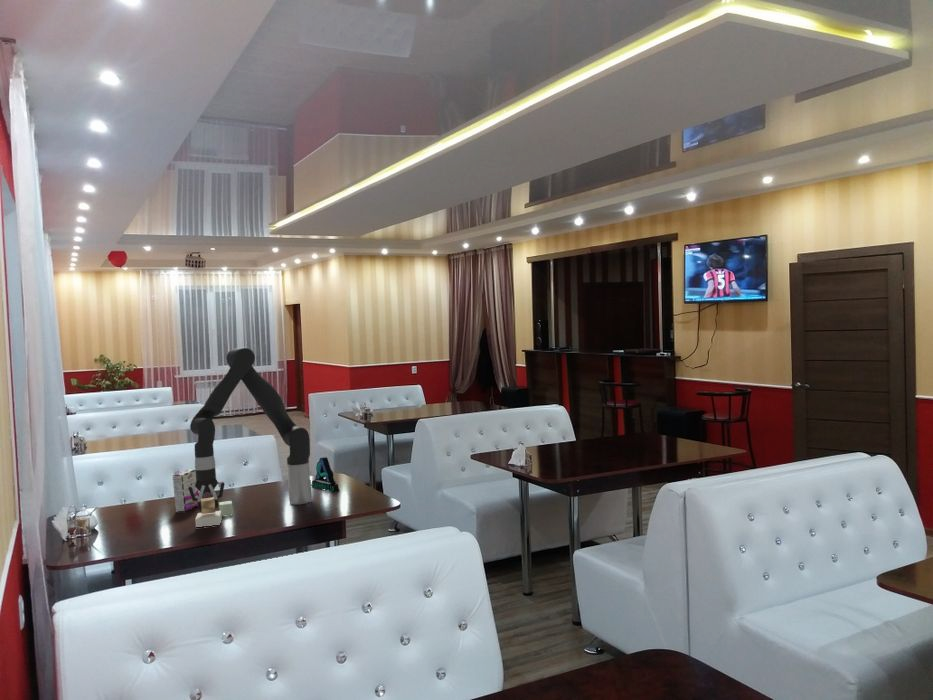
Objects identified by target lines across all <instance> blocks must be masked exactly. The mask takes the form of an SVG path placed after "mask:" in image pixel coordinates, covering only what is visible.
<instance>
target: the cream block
mask: <svg viewBox="0 0 933 700" xmlns="http://www.w3.org/2000/svg"><path fill="white" fill-rule="evenodd" d="M196 514H197V515H196V516H195V519H194V520H195V521H194V522H195V528H196V527H202V526H212V525H220V523H222V521H221V520H222V519H223V517H222V515H221V511H219V510H215V513H208V514H202V512H198V513H196ZM220 526H221V525H220ZM212 527H213V526H212Z"/></svg>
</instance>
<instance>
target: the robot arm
mask: <svg viewBox="0 0 933 700" xmlns="http://www.w3.org/2000/svg"><path fill="white" fill-rule="evenodd" d="M255 359H256V355H255V353H254V351H253V350H252V349H250V348H248V347H236V348H232V349H230V350H229V351H228V353H227V354H226V363H227V365H228V367H229V369H228V371H227V373H226V374H225V376H224V377H223V378H222V379H221V380H220V381H219V382H218V384H217V385H216V386H215V387H214V388H213V390H212V391H211V393H210V394H209V396H208V397H207V400H206V401H205V403H204V405H203V406H202V407H201V408H200V410H198V412H197V413H196V414H195V415H194V416H193V418H192V420H191V421H190V426H189V429H190V431H191V433H193V434H195V435H197V441H196V442H195V443H194V469H195V473H196V483H195V485H192V486H189V487H188V489H189V492H190V494H191V497H192V500H193V501H197V502H198V506H197V510H199V511H200V512H202V508H201V499H203V494H207V493H211V495H212V497H214V500H215V510H217V508H219V499H221V498H222V497H223V494H224V488H225V481H218V480H217V472H216V469H217V468H216V459H215V454H214V453H215V452H214V450H215V449H214V441H215V435H216V427H215V426H216V425H215V423H214V421H213V419H214V418H215V417H217V416H219V415H220V414H221V412H222V411H223V409H224V408H225V406H226V404H227V403H228V401H229V398H230V397H231V395H232V394H233V392H234V390H235V389H236V388H237V386H238V385H239V383H240V382H242V383H243V384H244V386H245V387H246V389H247V390H248V392H249V393H250V394H251V395H252V397H253V399H254V400H255V402H256V403H257V404H258V406H259V408H260V409H261V410H262V411H263V412H264V414H265V415H266V416H267V417H268V419H269V421H271V422H272V424H273V425H274V426H275V428H276V430H277V432H278V433H279V435H280V437H281V438H282V441H283V442H284V444H286V445H287V446H288V447H289V455H288V457H286V465H287V466H286V467H287V481H288V482H287V484H288V497H289V498H288V499H289V500H288V501H289V504H290V505H304V504H308V502H309V503H312V502H313V496H312V495H313V494H312V493H313V492H312V487H311V485H312V480H311V475H310V459H309V458H310V455H311V445H310V444H311V443H310V442H311V441H310V433H309V431H308V430H307V429H306V428H305V427H301V426H297V424H296V423H295V422H294V421H293V420H292V419H291V417H290V416H289V414H288V412H287V410H286V406H285V404H284V401H283V399H282V397H281V396H280V394H279V393H278V391H277V389H276V388H275V387H274V386H273V385H272V384H271V383H270V382H269V381H268V380H267V379H265V378H264V377H263V376H261V375H260V374H259V373H258V371H257V370H256V369H255V368H254V363H255V361H256V360H255ZM217 486H218V487H219V491H218V494H217V493H216V491H215V489H216V487H217ZM195 487H196V488H197V489H198V490H199V495H198V498H197V497H195V495H194V492H193V491H194V490H195Z"/></svg>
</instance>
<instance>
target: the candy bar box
mask: <svg viewBox="0 0 933 700" xmlns="http://www.w3.org/2000/svg"><path fill="white" fill-rule="evenodd" d="M172 482H173V483H172V484H173V493H174V504H175V513H179V512H178V511H187V510H189V509H191V508H193V507H195V506H197V505H198V502H197V501H193V500H192V497H191V494H190V492H189V489H188V487H189V486H192V485H195V483H196V473H195V468H188V469H184V470H181V471H180V472H177V473H174V474H173V475H172ZM193 492H194V495H195V497H197V498H198V495H199V490H198V489H197V488H196V487H195V490H194V491H193ZM197 507H198V506H197ZM195 508H196V507H195ZM193 509H194V508H193ZM191 510H192V509H191ZM189 511H190V510H189ZM187 512H188V511H187Z"/></svg>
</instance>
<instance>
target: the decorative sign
mask: <svg viewBox="0 0 933 700" xmlns="http://www.w3.org/2000/svg"><path fill="white" fill-rule="evenodd" d="M315 468H316V475H315V479H313V480H311V486H313V487H312V488H314V487H317V488H316V489H318V488H320V489H319V490H322V489H325V490H324V491H326V490H329V491H328V492H331V491H332V492H331V493H337V492H340V488H339V484H338V483H337V482H336V481H335V479H334V476H335V475H334V472H333V470H332V468H331V465H330V461H329V460H328V457H326V456H323V457H320V458H319V461H318V462H317V463H316V467H315Z"/></svg>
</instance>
